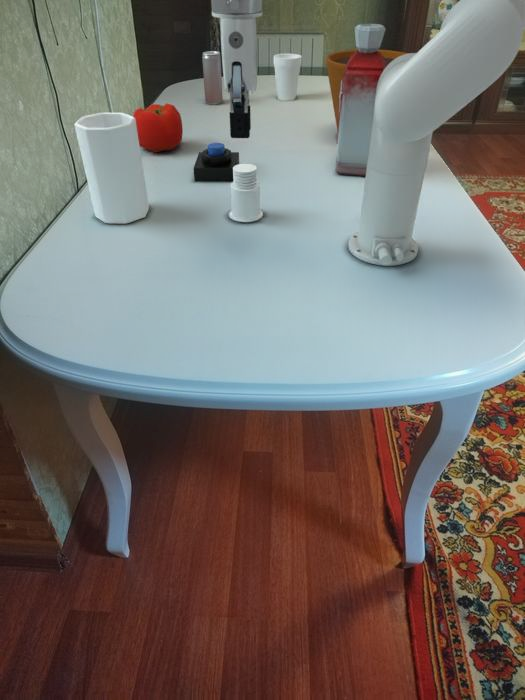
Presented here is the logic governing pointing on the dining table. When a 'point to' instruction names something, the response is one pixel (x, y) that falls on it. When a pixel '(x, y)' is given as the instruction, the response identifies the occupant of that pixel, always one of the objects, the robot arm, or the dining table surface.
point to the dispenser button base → (215, 166)
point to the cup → (113, 166)
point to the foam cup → (287, 75)
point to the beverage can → (212, 77)
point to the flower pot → (337, 67)
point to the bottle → (359, 100)
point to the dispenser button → (216, 149)
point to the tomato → (158, 127)
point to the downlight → (245, 194)
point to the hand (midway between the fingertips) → (240, 133)
